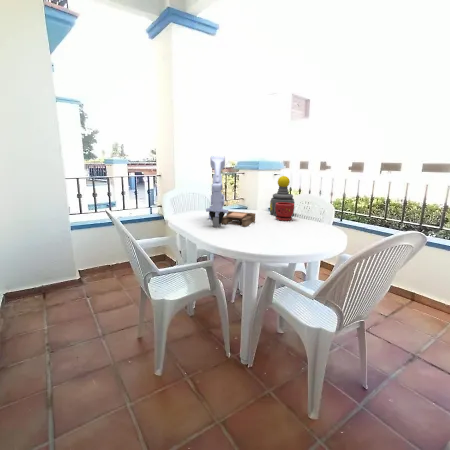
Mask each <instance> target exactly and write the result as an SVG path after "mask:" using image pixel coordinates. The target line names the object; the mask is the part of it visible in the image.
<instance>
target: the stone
mask: <svg viewBox="0 0 450 450" xmlns="http://www.w3.org/2000/svg"><path fill="white" fill-rule="evenodd" d="M212 227H213V228H220V227H222V223H221V224H219V217H217V216H215V217H213V223H212Z"/></svg>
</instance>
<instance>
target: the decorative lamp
mask: <svg viewBox="0 0 450 450" xmlns="http://www.w3.org/2000/svg"><path fill="white" fill-rule="evenodd" d="M290 183H291V182H290V179H289V177H288V176H286V175H281V176H279V178H278V179H277V185H278V189H277V192H276V193H273V194H272V197H271V198H270V199H271V200H270V202H269V213H270V215H271V216H274V217H276V216H277V214H276V209H275V207H276V203H278V202H285V203H293V204H294V205H295V199H294V195H293V194H292V193H289V189H288V187H289V185H290ZM283 210H284V209H283ZM286 210H287V208H286ZM289 211H290V210H289ZM294 212H295V210H294V211H293V214H292V216H293V215H294Z"/></svg>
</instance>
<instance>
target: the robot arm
mask: <svg viewBox="0 0 450 450" xmlns="http://www.w3.org/2000/svg"><path fill="white" fill-rule="evenodd" d="M225 163H226V157H225V156H220V155H219V156H218V155H216V156H215V155H214V156H213V155H211V156H210V168H211V169H212V170H214V174H213V175H212V184H211V192H212V194H211V196H210V206H209V207H207V208H205V212H206V213H207V212H208V219H209V220H211V221H212V222H211V223H212V224H213V217H215V216H217V217H219V224H221V225H222V219H223V217H224V216H225V214H227V213H228V211H229V209H224V208H223V207H224V206H225V194H223V182H222V181H223V176H222V173H221V172H222V170H223V169H225V166H226V164H225Z"/></svg>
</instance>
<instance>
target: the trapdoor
mask: <svg viewBox="0 0 450 450" xmlns="http://www.w3.org/2000/svg"><path fill="white" fill-rule="evenodd" d="M245 216H247V214H244V213H231V214H229V215H228V217H234V218H244V217H245Z"/></svg>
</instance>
